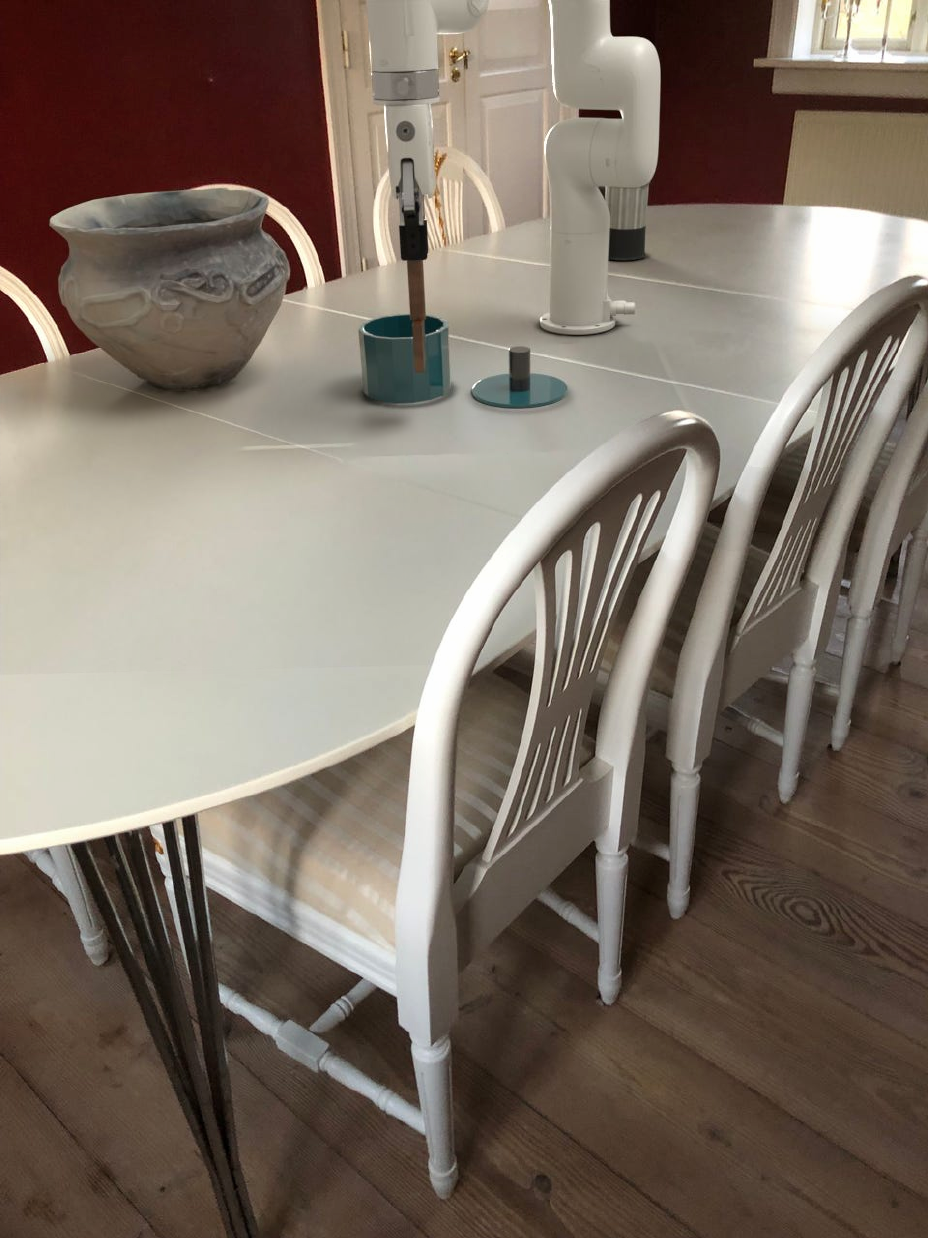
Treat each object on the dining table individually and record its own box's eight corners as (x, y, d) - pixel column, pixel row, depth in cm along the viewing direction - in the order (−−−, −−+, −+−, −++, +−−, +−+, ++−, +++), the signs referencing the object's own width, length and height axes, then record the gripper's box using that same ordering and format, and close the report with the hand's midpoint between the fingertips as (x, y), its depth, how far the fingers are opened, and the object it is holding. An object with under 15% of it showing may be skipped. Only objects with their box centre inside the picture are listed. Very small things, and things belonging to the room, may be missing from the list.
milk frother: (653, 253, 217) (657, 178, 210) (621, 270, 206) (624, 190, 199) (592, 248, 224) (594, 174, 216) (558, 263, 213) (559, 186, 205)
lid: (563, 378, 151) (564, 333, 148) (571, 410, 140) (572, 363, 137) (472, 381, 152) (471, 336, 148) (472, 413, 140) (470, 366, 137)
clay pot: (193, 432, 138) (158, 236, 125) (34, 395, 153) (-12, 217, 140) (345, 361, 162) (329, 190, 149) (195, 335, 177) (168, 178, 164)
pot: (451, 376, 154) (449, 312, 149) (449, 405, 143) (447, 337, 138) (368, 378, 154) (363, 314, 149) (360, 408, 144) (354, 340, 139)
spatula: (429, 358, 136) (422, 213, 127) (427, 372, 131) (419, 222, 121) (414, 358, 136) (405, 213, 127) (411, 373, 131) (402, 223, 121)
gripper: (436, 93, 110) (443, 271, 119) (441, 81, 124) (447, 242, 133) (366, 95, 110) (379, 273, 120) (378, 83, 124) (388, 244, 133)
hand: (414, 255), depth 126 cm, fingers closed on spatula, 2 cm apart
